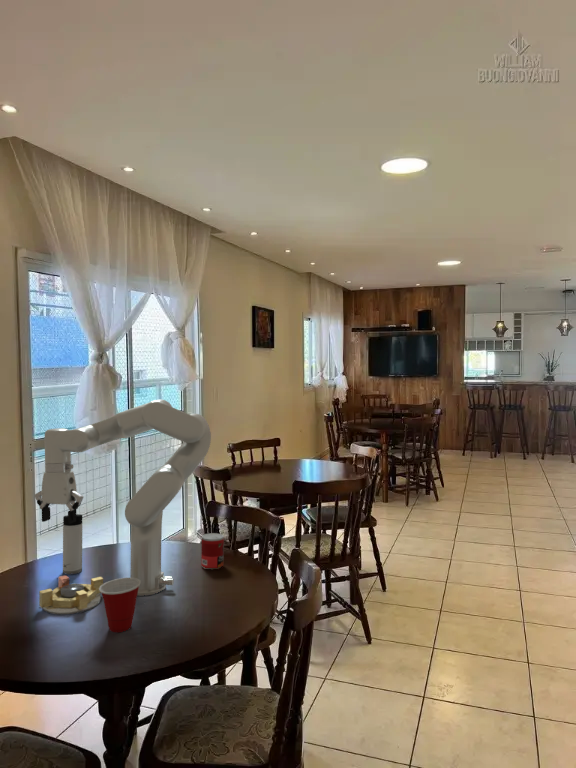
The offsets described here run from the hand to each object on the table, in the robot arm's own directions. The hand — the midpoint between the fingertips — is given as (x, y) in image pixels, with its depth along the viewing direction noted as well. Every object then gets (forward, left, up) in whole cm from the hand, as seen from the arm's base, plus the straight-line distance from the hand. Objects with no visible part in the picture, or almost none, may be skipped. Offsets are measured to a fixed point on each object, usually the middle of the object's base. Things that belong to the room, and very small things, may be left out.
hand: (59, 521), depth 171 cm
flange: (-9, +9, -22) cm, 25 cm away
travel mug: (+3, -16, -22) cm, 27 cm away
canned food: (-44, -26, -22) cm, 55 cm away
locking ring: (-9, +9, -20) cm, 24 cm away
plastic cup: (-29, +23, -22) cm, 43 cm away
